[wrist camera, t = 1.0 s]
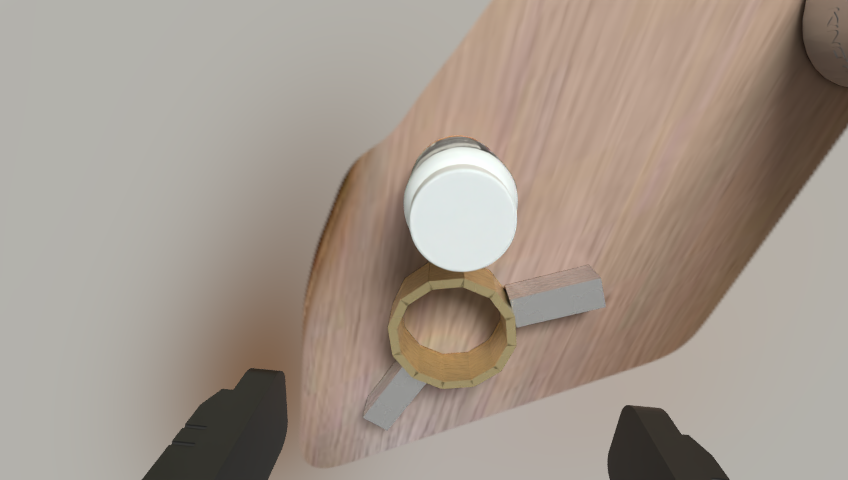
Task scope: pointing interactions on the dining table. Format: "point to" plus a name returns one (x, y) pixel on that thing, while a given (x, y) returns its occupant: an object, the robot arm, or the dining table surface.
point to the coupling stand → (471, 368)
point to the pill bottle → (460, 204)
